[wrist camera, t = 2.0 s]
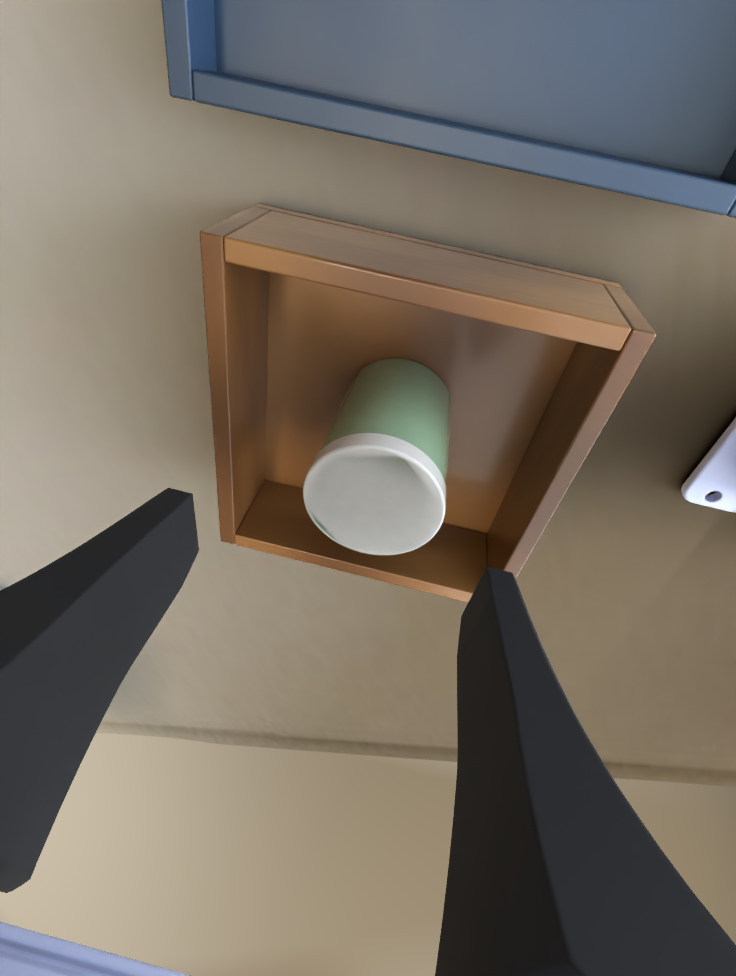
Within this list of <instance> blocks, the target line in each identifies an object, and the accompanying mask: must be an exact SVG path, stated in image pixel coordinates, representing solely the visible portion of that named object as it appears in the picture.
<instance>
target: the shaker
mask: <svg viewBox="0 0 736 976" xmlns="http://www.w3.org/2000/svg"><path fill="white" fill-rule="evenodd" d="M451 421H452V401H451V397H450V394H449V391H448V389H447V387H446V386H445V384H444V383H443V381H442V380H441V379H440V378H439V377H438V376H437V375H436V374H435V373H434V372H433V371H432V370H430V369H429V368H427V367H426V366H424V365H422V364H420V363H417V362H414V361H411V360H407V359H398V358H392V359H384V360H379V361H376V362H374V363H371V364H369V365H367V366H366V367H364V368H363V369H361V370H360V371H359V372H358V373H357V374H356V375H355V376H354V378H353V379H352V380H351V382H350V384H349V385H348V388H347V390H346V392H345V394H344V397H343V399H342V401H341V403H340V405H339V408H338V410H337V412H336V414H335V416H334V419H333V421H332V423H331V425H330V427H329V430H328V432H327V434H326V436H325V438H324V441H323V443H322V445H321V447H320V450H319V452H318V454H317V455H316V456H315V458H314V459H313V461H312V463H311V465H310V467H309V469H308V472H307V474H306V477H305V479H304V484H303V499H304V504H305V507H306V510H307V512H308V514H309V516H310V518H311V519H312V521H313V522H314V523H315V525H316V526H317V527H318V528H319V529H320V530H321V531H322V532H323V533H324V534H325V535H327V536H328V537H329V538H330V539H332V540H334V541H335V542H337V543H338V544H340V545H342V546H344V547H347V548H349V549H352V550H355V551H358V552H361V553H366V554H372V555H396V554H402V553H406V552H409V551H412V550H415V549H417V548H419V547H421V546H422V545H424V544H426V543H427V542H428V541H429V540H431V539H432V538H433V537H434V535H435V534H436V533H437V532H438V530H439V529H440V527H441V525H442V523H443V520H444V517H445V510H446V498H447V493H446V478H447V466H448V455H449V443H450V432H451Z"/></svg>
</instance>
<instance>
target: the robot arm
mask: <svg viewBox="0 0 736 976" xmlns="http://www.w3.org/2000/svg"><path fill="white" fill-rule="evenodd" d="M713 491H717V492H715V493H714V494H712V495H707V494H708V493H709V492H713ZM681 492H682V494H683V496H684V498H685V499H686V500H687V501H689V502H691V503H696V504H700V505H704V506H708V507H712V508H717V509H721V510H725V511H729V512H734V513H736V418H735V419H734V420H733V422H732V423H731V424H730V425H729V427H728V428H727V429H726V430H725V432H724V433H723V434H722V436H721V437H720V438H719V439H718V441H717V442H716V443H715V444H714V446H713V447H712V448H711V450H710V451H709V452H708V453H707V455H706V456H705V457H704V458H703V460H702V461H701V462H700V464H699V465H698V466H697V467H696V469H695V470H694V471H693V472H692V474H691V475H690V476H689V478H688V479H687V480H686V481H685V483H684V484H683V486H682V488H681ZM198 551H199V547H198V538H197V529H196V520H195V512H194V503H193V494H191V493H187V492H183V491H179V490H175V489H171V488H167V489H166V490H164V491H163V492H161V493H160V494H158V495H157V496H155V497H154V498H152V499H151V500H149V501H148V502H146V503H145V504H143V505H142V506H140V507H139V508H137V509H136V510H134V511H133V512H131V513H130V514H128V515H127V516H125V517H124V518H122V519H121V520H119V521H118V522H116V523H115V524H113V525H112V526H110V527H109V528H107V529H106V530H104V531H103V532H101V533H100V534H98V535H96V536H95V537H93V538H92V539H90V540H89V541H87V542H86V543H84V544H82V545H81V546H79V547H78V548H76V549H74V550H73V551H71V552H69V553H68V554H66V555H64V556H63V557H61V558H59V559H57V560H56V561H54V562H52V563H51V564H49V565H47V566H46V567H44V568H42V569H40V570H39V571H37V572H35V573H33V574H31V575H30V576H28V577H26V578H24V579H22V580H20V581H19V582H17V583H15V584H13V585H11V586H9V587H7V588H5V589H3V590H1V591H0V891H1V892H5V893H8V892H10V891H13V890H14V889H16V888H18V887H19V886H21V885H22V884H24V883H25V882H27V881H28V880H29V879H30V878H31V876H32V873H33V871H34V868H35V866H36V863H37V861H38V858H39V856H40V854H41V851H42V849H43V847H44V844H45V842H46V840H47V837H48V835H49V833H50V830H51V828H52V826H53V823H54V821H55V819H56V816H57V814H58V812H59V809H60V807H61V805H62V803H63V801H64V798H65V796H66V794H67V792H68V790H69V787H70V785H71V783H72V781H73V779H74V777H75V775H76V772H77V770H78V768H79V766H80V764H81V762H82V760H83V758H84V755H85V753H86V751H87V749H88V747H89V745H90V743H91V741H92V739H93V737H94V735H95V733H96V731H97V729H98V727H99V725H100V723H101V721H102V719H103V717H104V715H105V713H106V711H107V709H108V707H109V705H110V703H111V701H112V699H113V697H114V695H115V694H116V692H117V690H118V688H119V686H120V684H121V682H122V680H123V679H124V677H125V675H126V674H127V672H128V670H129V669H130V667H131V665H132V664H133V662H134V661H135V659H136V657H137V656H138V654H139V653H140V651H141V650H142V648H143V647H144V645H145V643H146V642H147V640H148V639H149V637H150V636H151V634H152V633H153V631H154V629H155V628H156V626H157V625H158V623H159V622H160V620H161V619H162V617H163V615H164V614H165V612H166V611H167V609H168V608H169V606H170V604H171V603H172V601H173V600H174V598H175V597H176V595H177V593H178V592H179V590H180V588H181V587H182V585H183V583H184V581H185V579H186V577H187V575H188V573H189V571H190V568H191V566H192V564H193V562H194V560H195V558H196V555H197V553H198ZM457 711H458V764H457V766H458V767H457V781H456V794H455V807H454V817H453V828H452V838H451V848H450V859H449V868H448V877H447V887H446V894H445V903H444V913H443V920H442V928H441V936H440V943H439V951H438V959H437V966H436V974H435V976H736V945H735V944H734V942H733V941H732V940H731V939H730V938H729V936H728V935H727V934H726V933H725V931H724V930H723V929H722V928H721V926H720V925H719V924H718V923H717V922H716V920H715V919H714V918H713V916H712V915H711V914H710V913H709V912H708V910H707V909H706V908H705V907H704V905H703V904H702V903H701V902H700V900H699V899H698V898H697V897H696V896H695V894H694V893H693V892H692V890H691V889H690V888H689V886H688V885H687V884H686V882H685V881H684V880H683V878H682V877H681V876H680V874H679V873H678V872H677V870H676V869H675V868H674V867H673V865H672V863H671V862H670V861H669V859H668V858H667V857H666V856H665V854H664V853H663V851H662V850H661V849H660V847H659V846H658V845H657V843H656V841H655V840H654V839H653V837H652V836H651V834H650V833H649V831H648V830H647V829H646V827H645V825H644V824H643V823H642V821H641V820H640V818H639V817H638V815H637V814H636V812H635V811H634V810H633V808H632V807H631V805H630V804H629V802H628V801H627V799H626V798H625V796H624V795H623V793H622V792H621V791H620V789H619V787H618V786H617V784H616V783H615V781H614V779H613V778H612V776H611V775H610V773H609V771H608V770H607V768H606V767H605V765H604V763H603V762H602V760H601V759H600V757H599V755H598V753H597V752H596V750H595V748H594V747H593V745H592V743H591V742H590V740H589V738H588V736H587V735H586V733H585V731H584V729H583V728H582V726H581V724H580V722H579V720H578V718H577V717H576V715H575V713H574V711H573V709H572V707H571V705H570V703H569V701H568V699H567V697H566V695H565V693H564V692H563V690H562V688H561V686H560V684H559V681H558V679H557V677H556V675H555V673H554V671H553V669H552V667H551V665H550V662H549V660H548V658H547V656H546V653H545V651H544V649H543V647H542V645H541V642H540V640H539V638H538V635H537V633H536V631H535V628H534V626H533V623H532V621H531V618H530V616H529V613H528V611H527V608H526V606H525V603H524V600H523V598H522V595H521V592H520V590H519V587H518V584H517V581H516V579H515V576H514V575H513V573H511V572H507V571H503V570H499V569H495V568H491V567H486V569H485V571H484V573H483V575H482V577H481V579H480V581H479V583H478V585H477V587H476V589H475V591H474V593H473V594H472V596H471V598H470V600H469V602H468V604H467V606H466V608H465V610H464V612H463V614H462V617H461V626H460V634H459V644H458V654H457ZM0 976H190V975H187V974H183V973H179V972H176V971H172V970H169V969H165V968H162V967H158V966H155V965H151V964H148V963H144V962H140V961H137V960H133V959H130V958H126V957H122V956H119V955H116V954H112V953H109V952H105V951H102V950H98V949H95V948H91V947H87V946H84V945H80V944H77V943H73V942H69V941H66V940H63V939H59V938H56V937H52V936H48V935H45V934H41V933H38V932H34V931H31V930H27V929H24V928H20V927H17V926H13V925H10V924H6V923H2V922H0Z"/></svg>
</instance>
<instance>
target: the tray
mask: <svg viewBox="0 0 736 976" xmlns="http://www.w3.org/2000/svg"><path fill="white" fill-rule="evenodd" d="M161 1H162V12H163V23H164V34H165V45H166V56H167V67H168V78H169V89H170V96H172V97H175V98H180V99H184V100H189V101H196V102H199V103H203V104H208V105H213V106H217V107H222V108H227V109H231V110H236V111H241V112H245V113H250V114H255V115H259V116H264V117H268V118H273V119H278V120H282V121H287V122H292V123H296V124H301V125H306V126H310V127H315V128H320V129H324V130H329V131H334V132H338V133H343V134H348V135H352V136H357V137H362V138H366V139H371V140H375V141H380V142H385V143H389V144H394V145H399V146H403V147H408V148H413V149H417V150H422V151H427V152H431V153H436V154H441V155H445V156H450V157H455V158H459V159H464V160H469V161H473V162H478V163H482V164H487V165H492V166H496V167H501V168H506V169H510V170H515V171H520V172H524V173H529V174H534V175H538V176H543V177H548V178H552V179H557V180H562V181H566V182H571V183H576V184H580V185H585V186H589V187H594V188H599V189H603V190H608V191H613V192H617V193H622V194H627V195H631V196H636V197H641V198H645V199H650V200H655V201H659V202H664V203H669V204H673V205H678V206H683V207H687V208H692V209H696V210H701V211H706V212H710V213H715V214H720V215H727V216H729V217H734V218H736V0H161Z"/></svg>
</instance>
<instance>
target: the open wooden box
mask: <svg viewBox="0 0 736 976" xmlns="http://www.w3.org/2000/svg"><path fill="white" fill-rule="evenodd" d="M200 244H201V259H202V273H203V288H204V302H205V317H206V332H207V346H208V361H209V375H210V390H211V405H212V419H213V434H214V449H215V463H216V478H217V492H218V507H219V522H220V536H221V541H223V542H227V543H231V544H236V545H239V546H243V547H247V548H251V549H255V550H259V551H263V552H267V553H271V554H275V555H279V556H283V557H287V558H291V559H295V560H299V561H303V562H307V563H312V564H316V565H320V566H324V567H328V568H332V569H336V570H340V571H344V572H348V573H352V574H356V575H360V576H364V577H368V578H372V579H376V580H380V581H384V582H388V583H392V584H396V585H400V586H404V587H408V588H412V589H416V590H420V591H424V592H428V593H432V594H436V595H440V596H444V597H448V598H452V599H456V600H461V601H465V602H469V600H470V598H471V596H472V594H473V593H474V591H475V589H476V587H477V585H478V583H479V581H480V579H481V577H482V575H483V573H484V571H485V569H486V567H491V568H495V569H499V570H503V571H507V572H511V573H513V575H514V576H515V579H516V577H517V576H518V574H519V572H520V570H521V569H522V567H523V565H524V564H525V562H526V560H527V558H528V557H529V555H530V553H531V551H532V550H533V548H534V546H535V545H536V543H537V541H538V539H539V538H540V536H541V534H542V532H543V531H544V529H545V527H546V526H547V524H548V522H549V520H550V519H551V517H552V515H553V514H554V512H555V510H556V508H557V507H558V505H559V503H560V501H561V500H562V498H563V496H564V495H565V493H566V491H567V489H568V488H569V486H570V484H571V482H572V481H573V479H574V477H575V476H576V474H577V472H578V470H579V469H580V467H581V465H582V463H583V462H584V460H585V458H586V457H587V455H588V453H589V451H590V450H591V448H592V446H593V444H594V443H595V441H596V439H597V438H598V436H599V434H600V432H601V431H602V429H603V427H604V425H605V424H606V422H607V420H608V419H609V417H610V415H611V413H612V412H613V410H614V408H615V406H616V405H617V403H618V401H619V400H620V398H621V396H622V394H623V393H624V391H625V389H626V387H627V386H628V384H629V382H630V381H631V379H632V377H633V375H634V374H635V372H636V370H637V369H638V367H639V365H640V363H641V362H642V360H643V358H644V356H645V355H646V353H647V351H648V350H649V348H650V346H651V344H652V343H653V341H654V339H655V337H656V333H655V332H654V330H653V329H652V328H651V326H650V325H649V323H648V322H647V321H646V319H645V318H644V317H643V315H642V314H641V313H640V311H639V310H638V309H637V307H636V306H635V304H634V303H633V302H632V300H631V299H630V298H629V296H628V295H627V294H626V292H625V291H624V290H623V288H622V286H621V285H620V284H619V283H615V282H610V281H606V280H601V279H597V278H592V277H588V276H583V275H579V274H574V273H570V272H565V271H561V270H556V269H552V268H547V267H543V266H538V265H534V264H529V263H525V262H520V261H516V260H511V259H507V258H502V257H498V256H493V255H489V254H484V253H480V252H475V251H471V250H466V249H462V248H457V247H453V246H448V245H444V244H439V243H435V242H430V241H426V240H421V239H416V238H412V237H407V236H403V235H398V234H394V233H389V232H385V231H380V230H376V229H371V228H367V227H362V226H358V225H353V224H349V223H344V222H340V221H335V220H331V219H326V218H322V217H317V216H313V215H308V214H304V213H299V212H295V211H290V210H286V209H281V208H277V207H272V206H268V205H263V204H256V205H254V206H252V207H250V208H248V209H246V210H244V211H241V212H239V213H237V214H235V215H233V216H231V217H229V218H227V219H225V220H223V221H221V222H219V223H217V224H215V225H213V226H211V227H209V228H207V229H205V230H203V231H201V232H200ZM392 358H398V359H407V360H411V361H414V362H417V363H420V364H422V365H424V366H426V367H427V368H429V369H430V370H432V371H433V372H434V373H435V374H436V375H437V376H438V377H439V378H440V379H441V380H442V381H443V383H444V384H445V386H446V387H447V389H448V391H449V394H450V397H451V401H452V421H451V432H450V443H449V455H448V466H447V478H446V493H447V498H446V510H445V517H444V520H443V523H442V525H441V527H440V529H439V530H438V532H437V533H436V534H435V535H434V537H433V538H432V539H431V540H429V541H428V542H427V543H426V544H424V545H422V546H421V547H419V548H417V549H415V550H412V551H409V552H406V553H402V554H396V555H372V554H366V553H361V552H358V551H355V550H352V549H349V548H347V547H344V546H342V545H340V544H338V543H337V542H335V541H334V540H332V539H330V538H329V537H328V536H327V535H325V534H324V533H323V532H322V531H321V530H320V529H319V528H318V527H317V526H316V525H315V523H314V522H313V521H312V519H311V518H310V516H309V514H308V512H307V510H306V507H305V504H304V499H303V484H304V479H305V477H306V474H307V472H308V469H309V467H310V465H311V463H312V461H313V459H314V458H315V456H316V455H317V454H318V452H319V450H320V447H321V445H322V443H323V441H324V438H325V436H326V434H327V432H328V430H329V427H330V425H331V423H332V421H333V419H334V416H335V414H336V412H337V410H338V408H339V405H340V403H341V401H342V399H343V397H344V394H345V392H346V390H347V388H348V385H349V384H350V382H351V380H352V379H353V378H354V376H355V375H356V374H357V373H358V372H359V371H360V370H361V369H363V368H364V367H366V366H367V365H369V364H371V363H374V362H376V361H379V360H384V359H392Z"/></svg>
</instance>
